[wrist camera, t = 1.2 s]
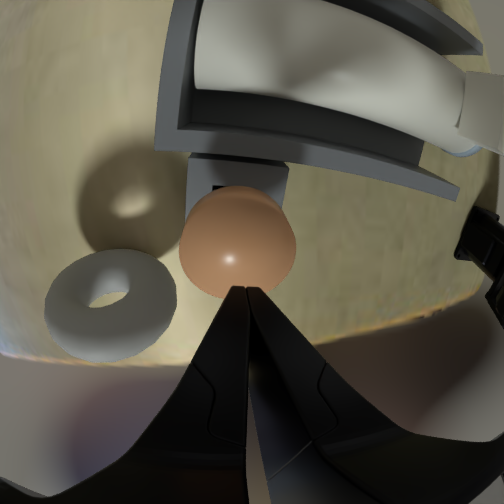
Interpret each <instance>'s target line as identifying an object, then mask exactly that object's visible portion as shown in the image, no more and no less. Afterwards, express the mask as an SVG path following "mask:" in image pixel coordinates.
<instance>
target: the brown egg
mask: <svg viewBox="0 0 504 504" xmlns="http://www.w3.org/2000/svg"><path fill="white" fill-rule="evenodd" d="M295 255H296V241H295V237H294V233H293V231H292V229H291V226H290V224H289V222H288V220H287V218H286V216H285V214H284V212H283V211H282V209H281V207H280V206H279V205H278V204H277V202H276V201H275V200H274V199H272V198H271V197H270V196H269V195H267V194H265V193H264V192H262V191H260V190H257V189H254V188H251V187H246V186H228V187H223V188H220V189H217V190H214V191H212V192H210V193H208V194H207V195H205V196H204V197H202V198H201V199H200V200H199V201H198V202H197V203H196V204H195V205H194V206H193V208H192V209H191V211H190V212H189V214H188V216H187V219H186V222H185V225H184V229H183V232H182V236H181V240H180V244H179V258H180V262H181V265H182V268H183V270H184V272H185V274H186V275H187V277H188V278H189V279H190V281H191V282H192V283H193V284H194V285H195V286H197V287H198V288H199V289H201V290H202V291H204V292H206V293H208V294H210V295H212V296H215V297H218V298H223V299H225V297H226V295H227V293H228V291H229V289H230V287H231V286H233V285H234V286H244V287H245V288H246V287H247V286H254V287H260V288H261V289H262V290H263V291H264V292H265V293H266V292H268V291H270V290H272V289H273V288H274V287H276V286H277V285H278V284H279V283H280V282H282V280H283V279H284V278H285V277H286V276H287V274H288V273H289V271H290V269H291V267H292V265H293V263H294V260H295Z"/></svg>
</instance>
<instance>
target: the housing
mask: <svg viewBox="0 0 504 504" xmlns="http://www.w3.org/2000/svg"><path fill="white" fill-rule="evenodd" d="M322 1H326V2H329V3H332V4H335V5H338V6H341V7H344V8H347V9H349V10H352V11H355V12H357V13H360V14H362V15H365V16H367V17H370V18H372V19H374V20H377V21H379V22H381V23H383V24H385V25H388V26H390V27H392V28H394V29H396V30H398V31H400V32H402V33H404V34H405V35H407V36H409V37H411V38H413V39H415V40H416V41H418V42H420V43H422V44H423V45H425V46H427V47H428V48H430V49H431V50H433V51H435V52H436V53H438V54H439V55H482V56H483V44H482V43H481V42H480V41H479V40H478V39H476V38H475V37H474V36H473V35H472V34H471V33H469V32H468V31H467V30H466V29H465V28H463V27H462V26H461V25H460V24H458V23H457V22H456V21H454V20H453V19H452V18H450V17H449V16H448V15H446V14H445V13H444V12H442V11H441V10H439V9H438V8H436V7H435V6H433V5H432V4H430V3H429V2H427V1H426V0H322ZM203 2H204V0H174V3H173V8H172V12H171V17H170V21H169V26H168V32H167V37H166V43H165V48H164V55H163V61H162V68H161V76H160V84H159V92H158V102H157V113H156V126H155V142H154V151H179V152H192V153H191V155H190V156H189V158H188V170H187V187H186V208H185V222H186V219H187V216H188V214H189V212H190V211H191V209H192V208H193V206H194V205H195V204H196V203H197V202H198V201H199V200H200V199H201V198H202V197H204V196H205V195H207V194H208V193H210V192H212V191H213V185H219V186H246V187H251V188H254V189H257V190H260V191H262V192H264V193H265V194H267V195H269V196H270V197H271V198H272V199H274V200H275V201H276V202H277V204H278V205H279V206H280V207H281V209H282V204H283V199H284V194H285V188H286V183H287V178H288V173H289V167H288V166H287V165H286V164H285V163H284V162H291V163H298V164H304V165H310V166H316V167H321V168H327V169H332V170H337V171H342V172H347V173H352V174H356V175H361V176H365V177H370V178H374V179H378V180H382V181H386V182H390V183H394V184H398V185H402V186H405V187H409V188H413V189H416V190H420V191H423V192H426V193H430V194H433V195H436V196H439V197H443V198H446V199H449V200H452V201H455V202H456V199H457V196H458V193H459V190H460V188H459V187H457V186H456V185H454V184H452V183H450V182H448V181H447V180H445V179H443V178H441V177H439V176H437V175H435V174H433V173H431V172H429V171H427V170H425V169H423V168H421V167H419V166H418V165H419V161H420V157H421V153H422V149H423V145H424V140H422V139H419V138H417V137H415V136H412V135H410V134H407V133H405V132H402V131H399V130H397V129H394V128H391V127H389V126H386V125H383V124H380V123H377V122H374V121H371V120H368V119H365V118H362V117H358V116H355V115H352V114H348V113H345V112H341V111H337V110H333V109H329V108H325V107H321V106H317V105H313V104H308V103H304V102H299V101H294V100H289V99H283V98H278V97H271V96H265V95H258V94H251V93H243V92H234V91H223V90H210V89H197V88H196V86H195V79H194V62H195V48H196V39H197V31H198V25H199V20H200V15H201V10H202V6H203ZM283 161H284V162H283Z"/></svg>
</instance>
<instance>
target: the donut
mask: <svg viewBox="0 0 504 504" xmlns="http://www.w3.org/2000/svg"><path fill="white" fill-rule="evenodd" d="M112 292H126V293H127V295H126V296H124V297H123V298H122V299H120V300H119V301H117V302H115V303H113V304H111V305H107V306H104V307H99V308H90V307H89V305H90V304H91V303H92V302H93V301H94V300H96V299H97V298H99V297H101V296H103V295H105V294H109V293H112ZM176 307H177V295H176V284H175V282H174V279H173V278H172V276H171V274H170V272H169V271H168V269H167V268H166V266H165V265H164V264H163V263H161V262H160V261H159V260H157V259H156V258H155V257H153V256H151V255H149V254H146V253H143V252H140V251H137V250H132V249H111V250H104V251H100V252H96V253H93V254H89V255H87V256H85V257H83V258H81V259H79V260H77V261H75V262H73V263H72V264H71V265H69V266H68V267H67V268H65V269H64V270H63V271H62V272H61V273H60V274H59V275H58V276H57V277H56V279H55V280H54V281H53V283H52V285H51V287H50V289H49V291H48V293H47V296H46V298H45V311H44V319H45V322H46V324H47V327H48V329H49V332H50V334H51V336H52V339H53V340H54V341H55V342H56V343H57V344H58V345H59V346H60V347H61V348H63V349H64V350H65V351H66V352H67V353H68V354H70V355H72V356H75V357H78V358H80V359H83V360H87V361H90V362H116V361H119V360H122V359H125V358H129V357H132V356H135V355H137V354H139V353H140V352H142V351H143V350H145V349H146V348H148V347H149V346H151V345H152V344H154V343H155V342H156V341H157V340H158V339H159V337H160V336H161V335H162V334H163V333H164V332H165V330H166V329H167V328H168V327H169V325H170V323H171V320H172V317H173V315H174V312H175V310H176Z"/></svg>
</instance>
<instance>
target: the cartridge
mask: <svg viewBox="0 0 504 504" xmlns="http://www.w3.org/2000/svg"><path fill="white" fill-rule="evenodd" d="M194 79H195V86H196V88H197V89H210V90H223V91H234V92H243V93H251V94H258V95H265V96H271V97H278V98H283V99H289V100H294V101H299V102H304V103H308V104H313V105H317V106H321V107H325V108H329V109H333V110H337V111H341V112H345V113H348V114H352V115H355V116H358V117H362V118H365V119H368V120H371V121H374V122H377V123H380V124H383V125H386V126H389V127H391V128H394V129H397V130H399V131H402V132H405V133H407V134H410V135H412V136H415V137H417V138H419V139H422V140H424V141H426V142H429V143H431V144H433V145H435V146H438V147H440V148H441V149H442V150H444V151H445V152H447V153H449V154H451V155H453V156H456V157H467V156H471V155H473V154H475V153H477V152H478V151H479V150H480V149H482V147H483V148H486V149H488V150H490V151H493V152H495V153H497V154H500V155H502V156H504V76H503V75H497V74H490V73H482V72H473V71H466V73H465V72H463V71H462V70H461V69H459V68H458V67H457V66H455V65H454V64H453V63H451V62H450V61H448V60H447V59H445V58H444V57H442V56H441V55H439V54H438V53H436V52H435V51H433V50H431V49H430V48H428V47H427V46H425V45H423V44H422V43H420V42H418V41H416V40H415V39H413V38H411V37H409V36H407V35H405V34H404V33H402V32H400V31H398V30H396V29H394V28H392V27H390V26H388V25H385V24H383V23H381V22H379V21H377V20H374V19H372V18H370V17H367V16H365V15H362V14H360V13H357V12H355V11H352V10H349V9H347V8H344V7H341V6H338V5H335V4H332V3H329V2H326V1H322V0H204V2H203V6H202V10H201V15H200V20H199V25H198V31H197V39H196V48H195V62H194Z"/></svg>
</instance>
